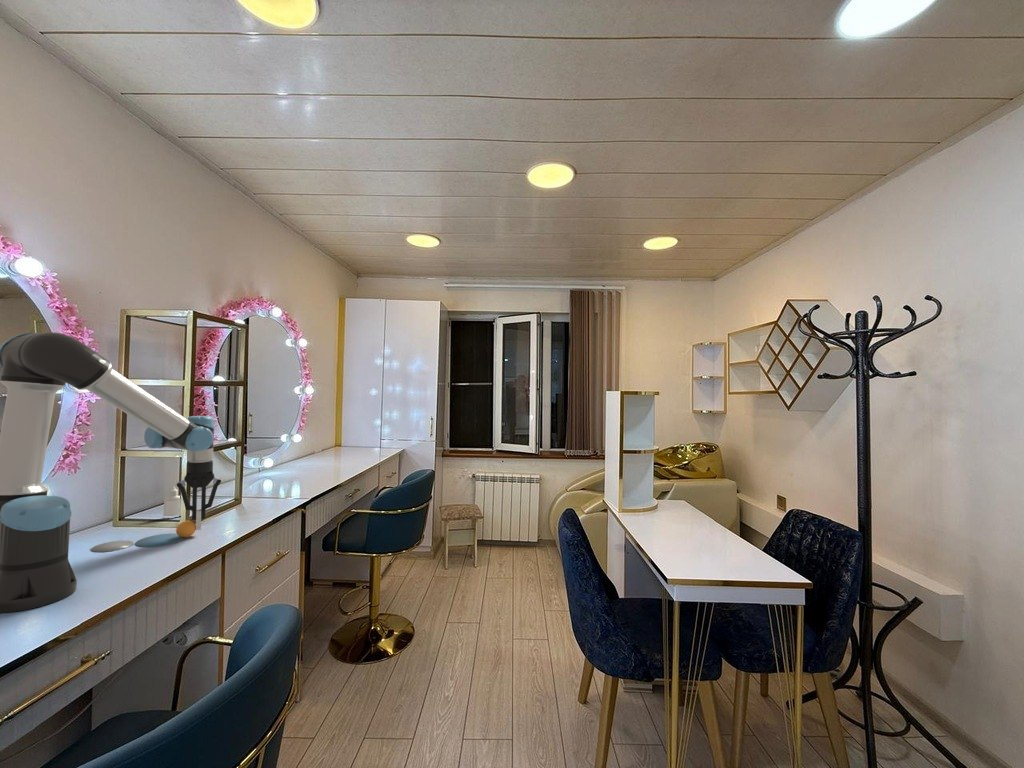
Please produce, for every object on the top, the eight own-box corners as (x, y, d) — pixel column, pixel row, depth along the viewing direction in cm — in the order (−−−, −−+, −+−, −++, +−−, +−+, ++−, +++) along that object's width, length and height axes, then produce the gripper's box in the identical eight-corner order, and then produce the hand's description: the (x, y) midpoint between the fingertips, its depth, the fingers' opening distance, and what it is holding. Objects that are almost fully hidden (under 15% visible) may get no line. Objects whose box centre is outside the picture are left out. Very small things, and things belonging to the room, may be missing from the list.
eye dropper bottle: (177, 519, 172) (179, 487, 172) (161, 519, 171) (162, 487, 171) (183, 515, 176) (185, 485, 177) (167, 516, 175) (168, 485, 175)
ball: (191, 538, 151) (181, 525, 149) (179, 543, 152) (168, 531, 150) (203, 527, 156) (192, 515, 154) (191, 532, 157) (180, 520, 155)
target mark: (158, 548, 141) (158, 548, 141) (124, 544, 144) (124, 544, 144) (194, 536, 154) (194, 535, 154) (162, 532, 156) (162, 531, 156)
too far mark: (108, 553, 136) (108, 552, 136) (82, 550, 138) (82, 549, 138) (141, 542, 146) (141, 542, 146) (116, 539, 148) (116, 539, 148)
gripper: (221, 457, 161) (220, 522, 161) (177, 460, 154) (175, 528, 154) (222, 460, 155) (221, 528, 155) (176, 463, 148) (174, 535, 148)
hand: (198, 528), depth 155 cm, fingers closed
